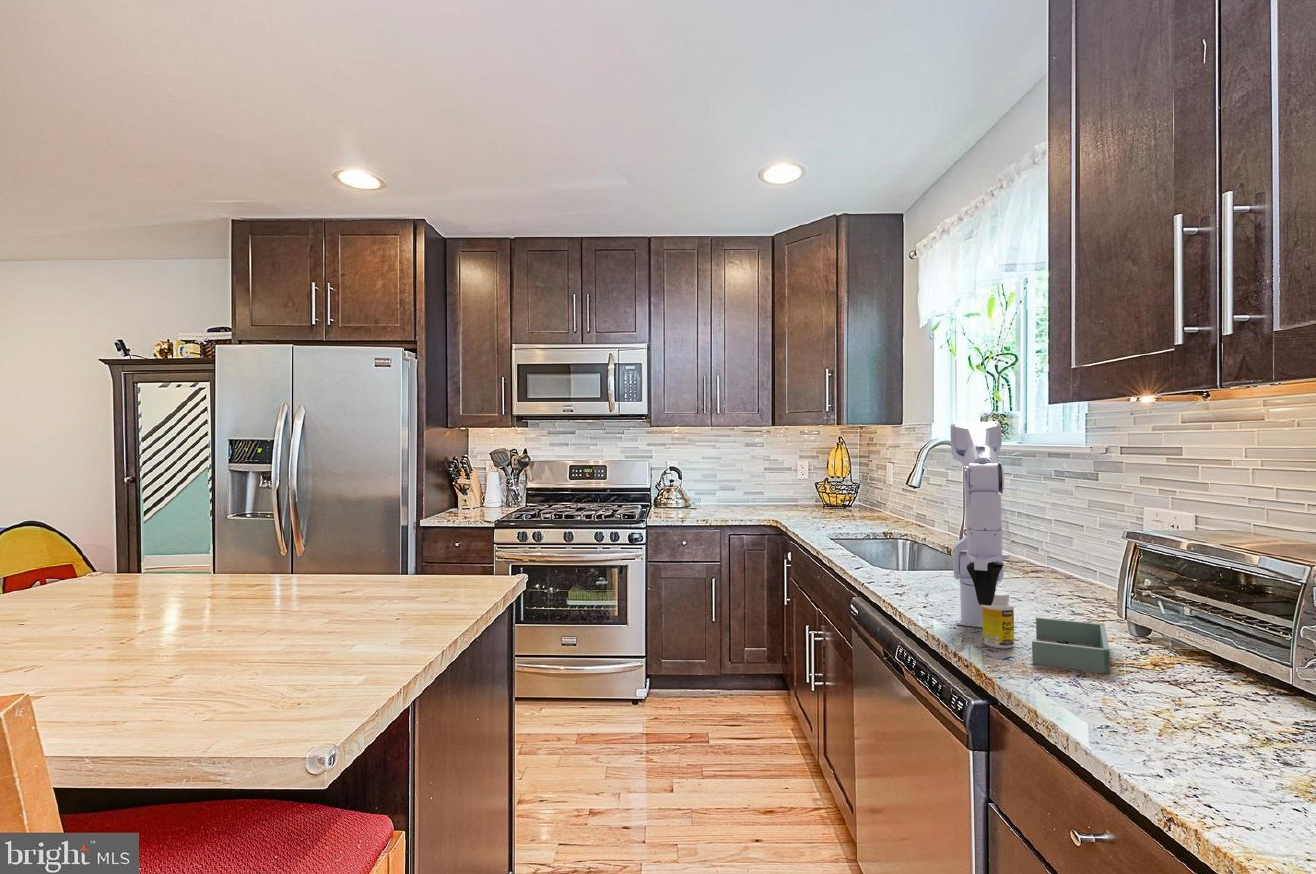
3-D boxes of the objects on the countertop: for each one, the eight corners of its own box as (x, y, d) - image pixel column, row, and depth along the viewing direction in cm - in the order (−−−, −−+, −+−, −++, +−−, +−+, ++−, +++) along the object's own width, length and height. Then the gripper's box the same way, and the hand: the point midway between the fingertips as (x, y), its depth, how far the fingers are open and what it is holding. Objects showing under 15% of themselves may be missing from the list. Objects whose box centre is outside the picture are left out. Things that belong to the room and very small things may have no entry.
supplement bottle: (1004, 651, 129) (1003, 597, 129) (976, 644, 134) (975, 592, 134) (1020, 646, 132) (1019, 593, 132) (992, 639, 137) (991, 588, 137)
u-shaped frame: (1036, 637, 138) (1036, 617, 138) (1105, 644, 132) (1104, 624, 132) (1032, 663, 122) (1032, 641, 122) (1110, 674, 116) (1109, 650, 116)
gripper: (1005, 535, 116) (1007, 615, 116) (1011, 525, 128) (1013, 597, 128) (960, 533, 120) (962, 610, 120) (970, 523, 132) (972, 593, 132)
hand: (985, 603), depth 124 cm, fingers closed
